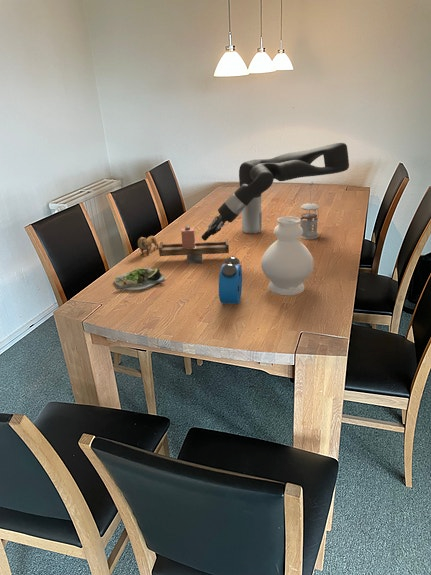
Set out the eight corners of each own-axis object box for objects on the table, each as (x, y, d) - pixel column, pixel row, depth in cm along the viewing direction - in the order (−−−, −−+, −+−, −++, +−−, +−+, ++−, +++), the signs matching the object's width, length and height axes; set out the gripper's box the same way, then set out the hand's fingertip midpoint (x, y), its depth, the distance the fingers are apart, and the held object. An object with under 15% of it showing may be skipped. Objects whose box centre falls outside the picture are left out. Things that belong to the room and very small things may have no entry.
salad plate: (128, 300, 151) (127, 288, 149) (102, 285, 163) (100, 273, 161) (172, 282, 163) (171, 271, 161) (145, 269, 175) (143, 258, 173)
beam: (228, 255, 184) (227, 239, 180) (229, 262, 177) (228, 244, 174) (162, 258, 184) (160, 242, 180) (160, 265, 177) (158, 248, 174)
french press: (293, 236, 203) (295, 182, 192) (306, 229, 210) (309, 177, 199) (311, 240, 196) (315, 185, 186) (324, 233, 204) (328, 180, 193)
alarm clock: (225, 292, 153) (224, 252, 146) (243, 293, 152) (242, 253, 145) (219, 310, 141) (217, 268, 135) (237, 311, 140) (237, 269, 134)
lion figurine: (148, 259, 184) (145, 239, 180) (136, 258, 185) (134, 238, 181) (161, 247, 196) (159, 228, 192) (150, 246, 198) (148, 227, 194)
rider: (195, 245, 180) (193, 225, 176) (195, 249, 176) (193, 228, 172) (183, 246, 180) (181, 225, 176) (182, 250, 176) (181, 229, 172)
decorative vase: (300, 303, 144) (304, 231, 133) (252, 292, 152) (252, 223, 141) (319, 282, 157) (324, 215, 146) (274, 273, 166) (275, 209, 155)
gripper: (240, 218, 166) (210, 250, 172) (238, 209, 178) (209, 239, 183) (225, 206, 164) (195, 238, 169) (224, 197, 176) (196, 228, 181)
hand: (203, 238), depth 176 cm, fingers closed
